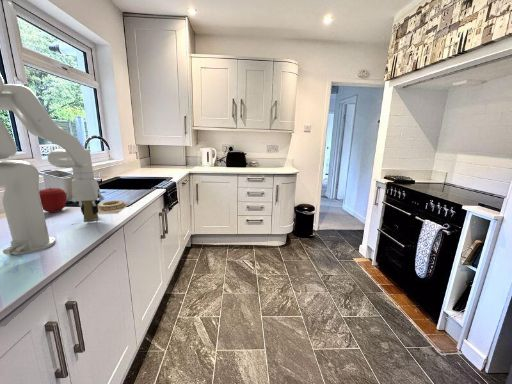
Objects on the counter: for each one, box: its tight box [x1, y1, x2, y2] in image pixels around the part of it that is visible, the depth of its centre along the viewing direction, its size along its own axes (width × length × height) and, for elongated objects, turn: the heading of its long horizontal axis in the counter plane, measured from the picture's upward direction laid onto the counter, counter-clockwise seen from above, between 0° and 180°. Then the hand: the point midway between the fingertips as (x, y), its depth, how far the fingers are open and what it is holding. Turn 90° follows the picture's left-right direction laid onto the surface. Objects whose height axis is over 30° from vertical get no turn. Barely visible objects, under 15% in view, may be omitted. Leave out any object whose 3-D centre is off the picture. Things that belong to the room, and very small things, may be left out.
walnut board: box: [97, 201, 132, 215], centre depth 128 cm, size 20×16×1 cm
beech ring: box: [98, 199, 125, 210], centre depth 131 cm, size 12×12×2 cm
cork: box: [82, 201, 99, 223], centre depth 112 cm, size 6×6×11 cm
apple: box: [39, 187, 68, 214], centre depth 123 cm, size 12×12×13 cm
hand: (90, 213), depth 113 cm, fingers closed on cork, 4 cm apart
